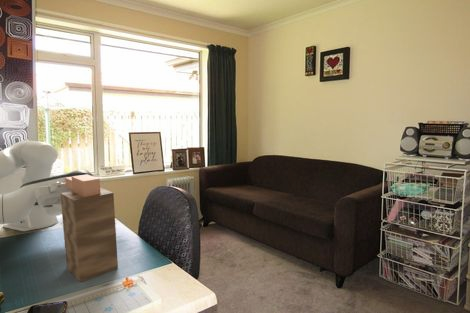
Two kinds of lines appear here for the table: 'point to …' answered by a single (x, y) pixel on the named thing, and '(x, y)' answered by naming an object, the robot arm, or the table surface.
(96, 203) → the walnut pedestal
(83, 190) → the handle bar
